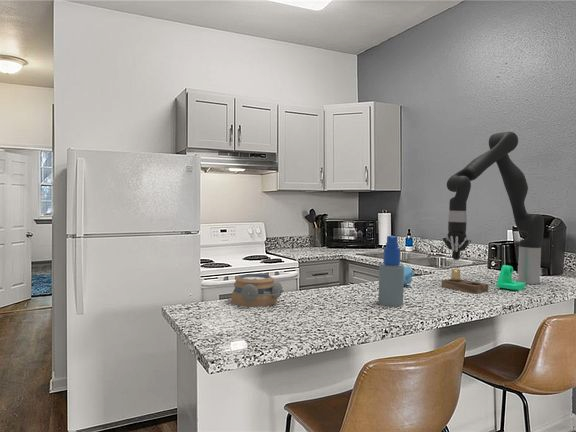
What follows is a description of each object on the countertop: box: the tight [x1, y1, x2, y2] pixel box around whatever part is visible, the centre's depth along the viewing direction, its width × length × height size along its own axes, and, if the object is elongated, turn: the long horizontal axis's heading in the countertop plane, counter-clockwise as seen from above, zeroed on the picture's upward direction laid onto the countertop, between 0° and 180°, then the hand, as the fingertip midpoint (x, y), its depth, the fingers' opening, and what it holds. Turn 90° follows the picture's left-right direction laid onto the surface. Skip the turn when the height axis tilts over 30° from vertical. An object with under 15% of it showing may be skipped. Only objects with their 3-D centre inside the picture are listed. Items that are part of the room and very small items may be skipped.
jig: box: [441, 278, 489, 295], centre depth 184 cm, size 10×16×3 cm, turn 36°
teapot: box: [381, 262, 416, 287], centre depth 190 cm, size 18×14×10 cm
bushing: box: [450, 268, 461, 282], centre depth 187 cm, size 4×4×8 cm
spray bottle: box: [377, 235, 405, 308], centre depth 155 cm, size 9×9×25 cm
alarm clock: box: [230, 273, 285, 308], centre depth 152 cm, size 17×9×23 cm
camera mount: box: [496, 264, 527, 292], centre depth 187 cm, size 12×8×10 cm, turn 129°
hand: (456, 259), depth 187 cm, fingers closed
